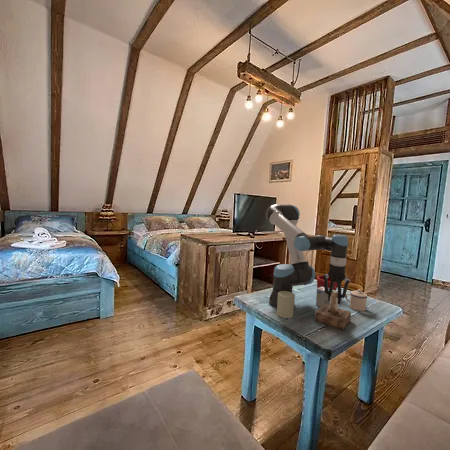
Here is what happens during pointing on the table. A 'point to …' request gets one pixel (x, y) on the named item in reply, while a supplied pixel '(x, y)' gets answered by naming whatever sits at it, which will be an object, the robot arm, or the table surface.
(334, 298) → the dowel pin
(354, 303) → the teacup with lid
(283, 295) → the can
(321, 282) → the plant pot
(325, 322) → the bore block
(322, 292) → the light bulb box
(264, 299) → the table surface
